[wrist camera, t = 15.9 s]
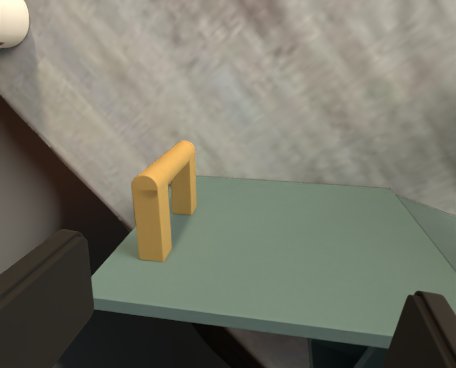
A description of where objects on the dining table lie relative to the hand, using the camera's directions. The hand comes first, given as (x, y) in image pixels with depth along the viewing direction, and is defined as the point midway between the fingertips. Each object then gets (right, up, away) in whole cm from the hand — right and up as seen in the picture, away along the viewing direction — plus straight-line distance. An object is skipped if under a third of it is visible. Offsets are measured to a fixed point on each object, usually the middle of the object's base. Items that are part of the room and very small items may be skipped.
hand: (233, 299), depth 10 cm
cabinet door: (+7, +7, +31) cm, 32 cm away
